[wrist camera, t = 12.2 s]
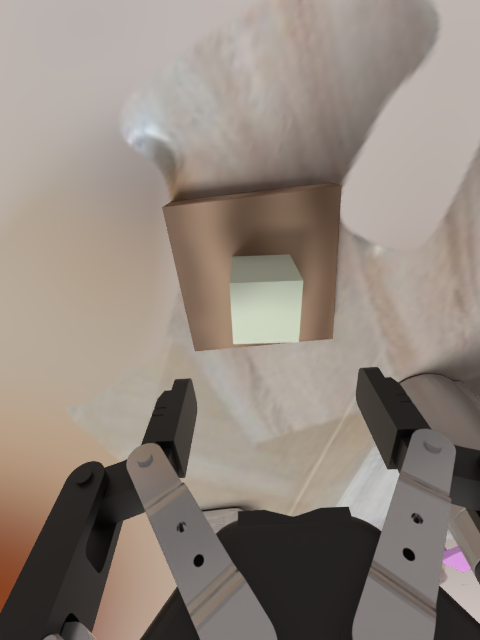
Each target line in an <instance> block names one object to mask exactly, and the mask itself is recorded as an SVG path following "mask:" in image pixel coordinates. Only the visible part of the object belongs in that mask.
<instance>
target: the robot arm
mask: <svg viewBox="0 0 480 640" xmlns="http://www.w3.org/2000/svg"><path fill="white" fill-rule="evenodd" d="M356 400H357V404H358V407H359V409H360V411H361V413H362V415H363V417H364V420H365V422H366V424H367V426H368V428H369V430H370V432H371V435H372V437H373V439H374V441H375V443H376V445H377V448H378V450H379V452H380V454H381V456H382V458H383V460H384V463H385V465H386V467H387V469H398V471H399V473H400V475H399V478H398V481H397V484H396V488H395V491H394V494H393V497H392V500H391V504H390V507H389V510H388V513H387V516H386V520H385V523H384V526H383V529H382V531H380V530H379V529H378V528H376V527H375V526H373V525H371V524H370V523H368V522H366V521H364V520H361V519H359V518H356V517H352V516H351V513H350V510H349V507H331V508H319V509H316V510H313V511H310V512H307V513H304V514H301V515H299V516H295V517H292V516H287V515H283V514H279V513H275V512H271V511H266V510H254V511H238V520H237V521H234V522H232V523H230V524H228V525H226V526H224V527H223V528H221V529H220V530H219V531H218V532H217V533H216V534H215V532H214V530H213V529H212V527H211V526H210V524H209V522H208V521H207V519H206V517H205V516H204V514H203V512H202V511H201V509H200V507H199V506H198V504H197V502H196V501H195V499H194V497H193V496H192V494H191V492H190V491H189V489H188V488H187V486H186V485H185V483H182V482H181V481H180V479H179V478H185V476H186V470H187V465H188V459H189V454H190V448H191V443H192V438H193V432H194V427H195V421H196V416H197V401H196V397H195V392H194V388H193V383H192V380H191V379H176V380H175V381H174V384H173V387H172V390H170V391H164V392H163V393H162V395H161V396H160V397H159V398H158V400H157V402H156V405H155V409H154V411H153V413H152V417H151V419H150V422H149V425H148V427H147V430H146V433H145V436H144V438H143V441H142V444H141V446H139V447H137V448H136V449H135V450H134V451H133V452H132V453H131V454H130V455H129V457H128V459H127V460H125V461H122V462H120V463H117V464H114V465H111V466H108V467H105V468H104V467H103V465H102V464H101V463H99V462H95V461H92V462H87V463H85V464H82V465H81V466H79V467H78V468H76V469H75V470H74V471H73V472H72V473H71V474H70V475H69V477H68V478H67V480H66V482H65V484H64V486H63V488H62V490H61V492H60V494H59V496H58V498H57V500H56V502H55V504H54V506H53V508H52V510H51V512H50V514H49V516H48V518H47V520H46V522H45V525H44V526H43V528H42V530H41V532H40V534H39V536H38V538H37V541H36V542H35V545H34V547H33V549H32V550H31V553H30V555H29V557H28V559H27V561H26V563H25V565H24V567H23V569H22V571H21V573H20V575H19V577H18V579H17V581H16V583H15V585H14V587H13V589H12V591H11V593H10V595H9V597H8V599H7V601H6V603H5V605H4V607H3V609H2V611H1V613H0V640H97V638H96V637H95V636H94V635H93V634H92V630H93V627H94V623H95V620H96V616H97V612H98V609H99V605H100V602H101V598H102V595H103V591H104V587H105V584H106V580H107V577H108V573H109V570H110V566H111V562H112V559H113V555H114V552H115V548H116V545H117V541H118V537H119V534H120V530H121V527H122V523H123V520H126V519H129V518H131V517H134V516H136V515H139V514H141V513H144V512H146V514H147V516H148V519H149V521H150V524H151V526H152V528H153V531H154V533H155V535H156V537H157V540H158V542H159V544H160V547H161V549H162V551H163V554H164V556H165V558H166V561H167V563H168V565H169V568H170V570H171V572H172V575H173V577H174V579H175V582H176V584H177V587H176V589H175V590H174V592H173V593H172V595H171V596H170V597H169V599H168V600H167V602H166V603H165V605H164V606H163V607H162V609H161V610H160V612H159V613H158V614H157V616H156V617H155V619H154V620H153V622H152V623H151V624H150V626H149V627H148V629H147V630H146V632H145V633H144V635H143V636H142V637H141V639H140V640H480V624H479V623H478V622H477V621H476V620H475V619H474V618H473V617H472V616H471V615H470V614H469V613H468V612H466V610H465V609H463V608H462V607H461V606H460V605H459V604H458V603H457V602H456V601H455V600H454V599H453V598H452V597H451V596H450V595H449V594H447V592H446V591H444V590H443V589H442V588H441V587H440V586H439V582H440V575H441V569H442V562H443V555H444V549H445V542H446V535H447V528H448V529H449V530H450V532H451V534H452V535H453V537H454V539H455V541H456V543H457V544H458V546H459V548H460V550H461V552H462V554H463V555H464V557H465V559H466V561H467V562H468V564H469V566H470V568H471V570H472V571H473V573H474V574H475V576H476V578H477V580H478V582H479V584H480V400H479V399H478V398H477V397H476V396H475V395H474V394H473V393H472V392H471V391H470V390H469V389H468V388H467V386H466V385H465V384H464V383H463V382H462V381H452V380H450V379H448V378H447V377H445V376H441V375H436V374H424V375H419V376H415V377H412V378H409V379H407V380H405V381H403V382H401V383H400V384H399V383H398V382H396V381H395V380H394V379H392V378H391V377H388V378H385V377H384V376H383V374H382V373H381V371H380V369H379V368H378V367H369V368H360V369H359V373H358V381H357V388H356Z"/></svg>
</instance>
